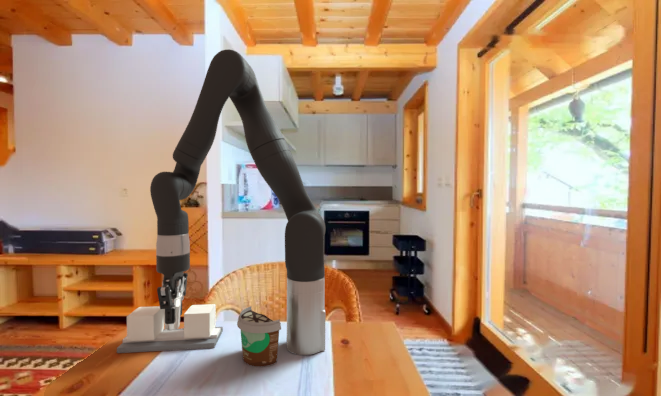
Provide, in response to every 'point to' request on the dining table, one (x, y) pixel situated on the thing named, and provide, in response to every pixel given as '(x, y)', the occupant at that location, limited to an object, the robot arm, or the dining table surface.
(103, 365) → the dining table surface
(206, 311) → the twin block base plate
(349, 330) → the dining table surface
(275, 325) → the food container
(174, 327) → the milkshake
